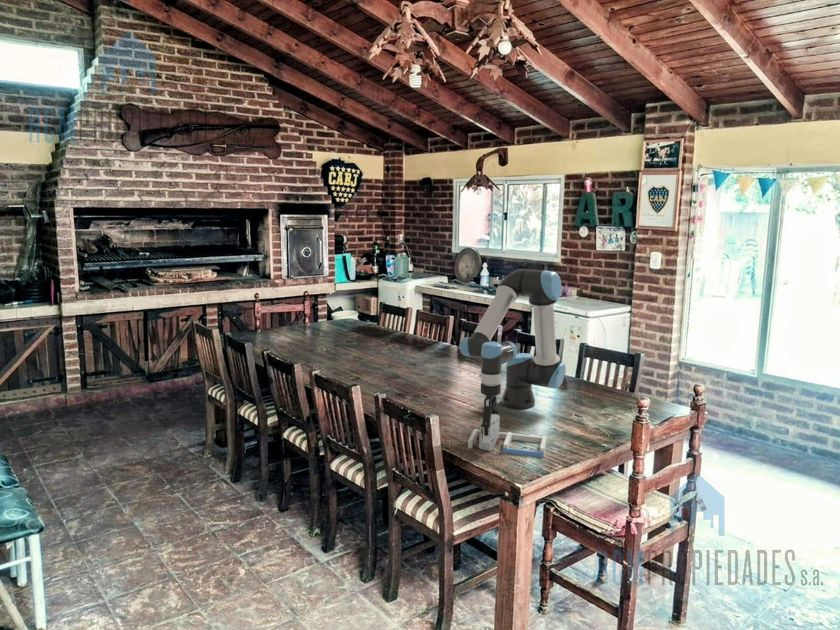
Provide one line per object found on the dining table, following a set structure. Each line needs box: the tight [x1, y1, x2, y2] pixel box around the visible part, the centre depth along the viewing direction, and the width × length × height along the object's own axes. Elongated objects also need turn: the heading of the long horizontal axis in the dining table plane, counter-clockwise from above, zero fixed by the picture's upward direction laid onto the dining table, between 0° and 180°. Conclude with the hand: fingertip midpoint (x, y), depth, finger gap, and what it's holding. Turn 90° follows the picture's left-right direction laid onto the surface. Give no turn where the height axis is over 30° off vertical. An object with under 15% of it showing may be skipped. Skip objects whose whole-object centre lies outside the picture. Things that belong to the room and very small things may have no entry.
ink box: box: [478, 414, 501, 452], centre depth 245 cm, size 9×5×12 cm, turn 149°
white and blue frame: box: [467, 428, 548, 458], centre depth 247 cm, size 15×28×3 cm, turn 74°
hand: (489, 436), depth 245 cm, fingers open, 13 cm apart
